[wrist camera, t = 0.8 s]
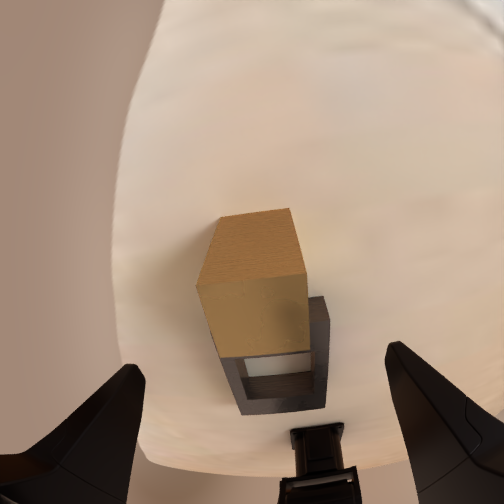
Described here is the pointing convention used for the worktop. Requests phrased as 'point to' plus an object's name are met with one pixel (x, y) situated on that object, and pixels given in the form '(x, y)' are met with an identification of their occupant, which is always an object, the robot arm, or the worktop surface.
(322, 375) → the steel rail
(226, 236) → the brass block
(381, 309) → the worktop surface
